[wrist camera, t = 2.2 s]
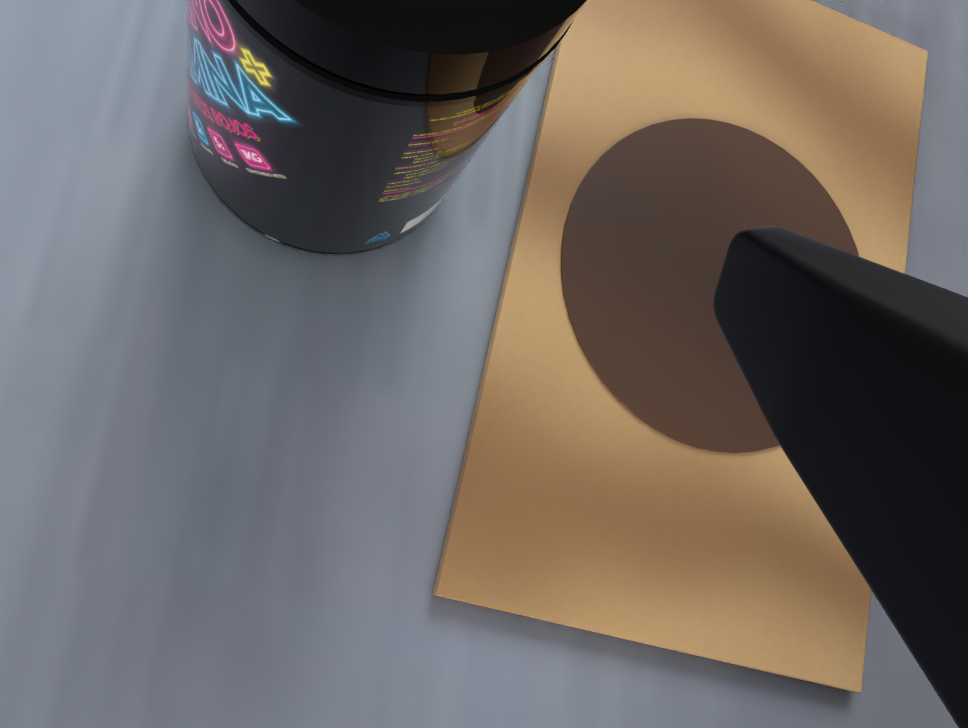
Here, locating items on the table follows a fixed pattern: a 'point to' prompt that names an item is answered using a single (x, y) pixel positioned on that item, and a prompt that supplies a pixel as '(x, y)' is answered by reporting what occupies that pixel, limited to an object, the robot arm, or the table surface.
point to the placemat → (677, 332)
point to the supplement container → (353, 106)
